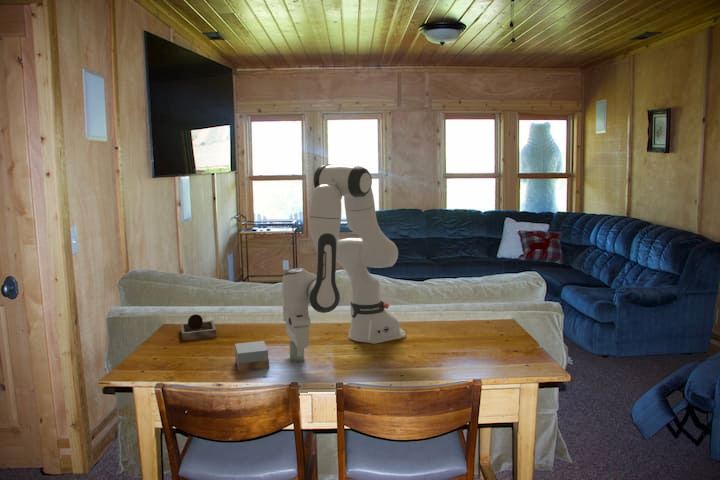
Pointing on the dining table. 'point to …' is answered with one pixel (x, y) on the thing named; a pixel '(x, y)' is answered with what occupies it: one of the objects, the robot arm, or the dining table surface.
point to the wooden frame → (198, 334)
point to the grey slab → (251, 352)
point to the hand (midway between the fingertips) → (297, 352)
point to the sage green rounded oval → (293, 353)
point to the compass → (195, 322)
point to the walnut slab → (252, 365)
